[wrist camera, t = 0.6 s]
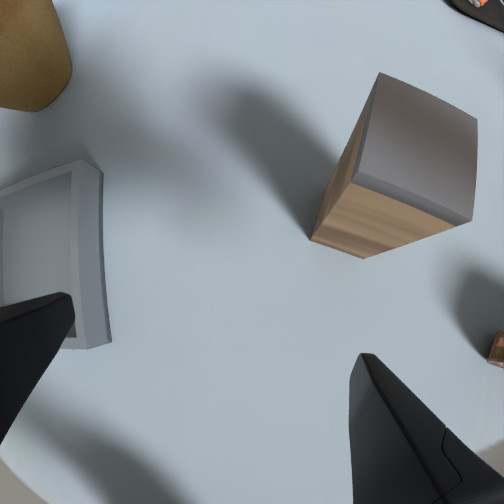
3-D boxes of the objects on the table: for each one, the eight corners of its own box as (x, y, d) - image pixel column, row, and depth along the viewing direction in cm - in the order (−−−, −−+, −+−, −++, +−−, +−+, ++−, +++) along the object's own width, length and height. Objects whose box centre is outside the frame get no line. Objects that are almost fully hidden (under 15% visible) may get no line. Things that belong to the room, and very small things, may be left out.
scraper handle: (363, 258, 20) (471, 220, 7) (309, 240, 21) (358, 170, 8) (377, 206, 21) (477, 119, 8) (326, 187, 21) (379, 72, 8)
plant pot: (116, 25, 25) (58, -66, 9) (75, 130, 24) (-36, 39, 8) (30, 56, 26) (-31, -4, 11) (-8, 150, 25) (-97, 102, 9)
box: (112, 342, 21) (87, 349, 18) (8, 338, 22) (-16, 341, 18) (103, 173, 23) (81, 158, 19) (4, 205, 24) (-18, 198, 20)
